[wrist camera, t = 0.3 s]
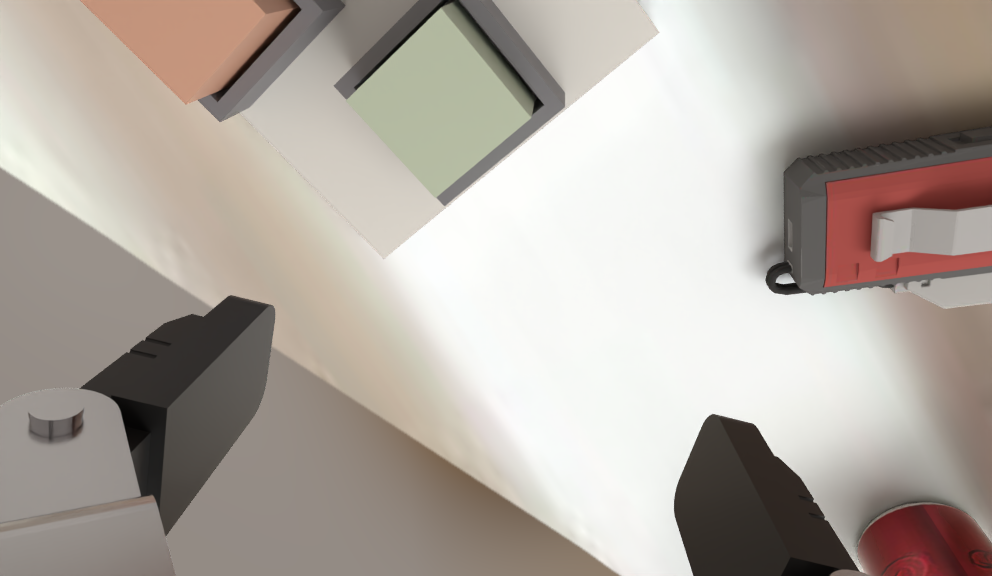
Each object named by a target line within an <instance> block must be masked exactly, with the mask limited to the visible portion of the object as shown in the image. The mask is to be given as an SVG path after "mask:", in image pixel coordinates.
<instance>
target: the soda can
mask: <svg viewBox="0 0 992 576" xmlns="http://www.w3.org/2000/svg"><path fill="white" fill-rule="evenodd" d="M857 553H858V560H859V562H860V564H861V566H862V568H863V570H864V572H865V574H868V575H871V576H992V543H991V542H990V540H989V539H988V537H987V536H986V535H985V533H984V532H983V531H982V529H981V528H980V526H979V525H978V524H977V522H976V521H975V520H974V519H973V518H972V517H971V516H969V515H968V514H967V513H965V512H963V511H961V510H959V509H957V508H955V507H951V506H948V505H944V504H940V503H931V502H917V503H910V504H905V505H901V506H898V507H895V508H892V509H890V510H888V511H886V512H884V513H882V514H881V515H879V516H878V517H876V518H875V519H874V520H873V521H872V522H870V523H869V525H868V526H867V527H866V529H865V530H864V532H863V533H862V535H861V538H860V540H859V542H858V548H857Z"/></svg>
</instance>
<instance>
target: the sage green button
mask: <svg viewBox="0 0 992 576" xmlns="http://www.w3.org/2000/svg"><path fill="white" fill-rule="evenodd" d="M346 102H347V103H348V104H349V105H350V106H351V107H352V108H353V109H354V110H355V112H356V113H357V114H358V115H359V116H360V117H361V118H362V119H363V120H364V121H365V122H366V123H367V125H368V126H369V127H370V128H371V129H372V130H373V131H374V132H375V133H376V134H377V135H378V137H379V138H380V139H381V140H382V141H383V142H384V143H385V144H386V145H387V146H388V147H389V148H390V150H391V151H392V152H393V153H394V154H395V155H396V156H397V157H398V158H399V159H400V160H401V162H402V163H403V164H404V165H405V166H406V167H407V168H408V169H409V170H410V171H411V172H412V173H413V175H414V176H415V177H416V178H417V179H418V180H419V181H420V182H421V183H422V184H423V185H424V187H425V188H426V189H427V190H428V191H429V192H430V193H431V194H432V195H433V196H434V197H435V198H436V197H437V196H439V195H440V194H441V193H442V192H443V191H445V190H446V189H447V188H448V187H449V186H451V185H452V184H453V183H454V182H455V181H457V180H458V179H459V178H460V177H461V176H463V175H464V174H465V173H466V172H467V171H469V170H470V169H471V168H472V167H473V166H475V165H476V164H477V163H478V162H479V161H481V160H482V159H483V158H484V157H485V156H486V155H488V154H489V153H490V152H491V151H492V150H494V149H495V148H496V147H497V146H498V145H500V144H501V143H502V142H503V141H504V140H506V139H507V138H508V137H509V136H510V135H512V134H513V133H514V132H515V131H516V130H518V129H519V128H520V127H521V126H522V125H524V124H525V123H526V122H527V121H528V120H530V119H531V117H532V112H533V107H534V102H535V96H534V94H533V93H532V92H531V91H530V89H529V88H528V87H527V86H526V85H525V83H524V82H523V81H522V80H521V78H520V77H519V76H518V75H517V73H516V72H515V71H514V70H513V68H512V67H511V66H510V65H509V64H508V62H507V61H506V60H505V59H504V57H503V56H502V55H501V54H500V52H499V51H498V50H497V49H496V47H495V46H494V45H493V44H492V42H491V41H490V40H489V39H488V38H487V36H486V35H485V34H484V33H483V31H482V30H481V29H480V28H479V26H478V25H477V24H476V23H475V21H474V20H473V19H472V18H471V17H470V15H469V14H468V13H467V12H466V10H465V9H464V8H463V7H462V5H461V4H460V3H459V2H458V0H456V1H454V2H452V3H450V4H448V5H446V6H443V7H441V8H440V9H439V10H438V11H437V12H436V13H435V14H434V15H433V16H432V17H431V18H430V19H429V20H428V21H427V22H426V23H425V24H424V25H423V26H422V27H421V28H420V29H418V30H417V31H416V32H415V33H414V34H413V35H412V36H411V37H410V38H409V39H408V40H407V41H406V42H405V43H404V44H403V45H402V46H401V47H400V48H399V49H398V50H397V51H396V52H395V53H394V54H393V55H392V56H391V57H390V58H389V59H388V60H387V61H386V62H385V63H384V64H383V65H382V66H381V67H380V68H379V69H378V70H377V71H376V72H375V73H374V74H373V75H372V76H371V77H370V78H369V79H367V80H366V81H365V82H364V83H363V84H362V85H361V86H360V87H359V88H358V89H357V90H356V91H355V92H354V93H353V94H352V95H351V96H350V97H349V98H348V99H347V100H346Z"/></svg>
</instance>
